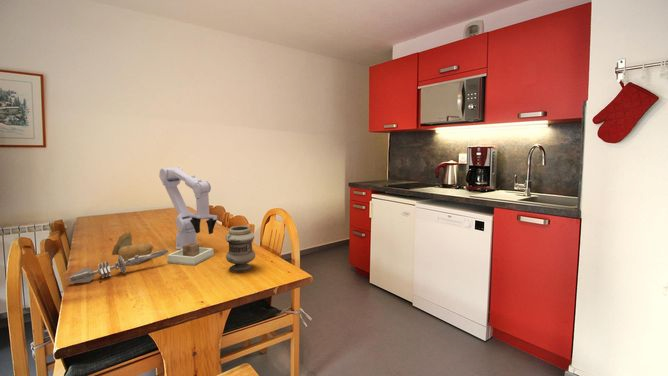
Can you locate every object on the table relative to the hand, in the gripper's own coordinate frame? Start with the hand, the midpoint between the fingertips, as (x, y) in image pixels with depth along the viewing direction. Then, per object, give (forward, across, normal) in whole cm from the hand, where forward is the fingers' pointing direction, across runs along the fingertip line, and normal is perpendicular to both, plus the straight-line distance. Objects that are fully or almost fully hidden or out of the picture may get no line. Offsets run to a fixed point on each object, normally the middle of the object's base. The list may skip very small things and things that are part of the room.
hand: (204, 233), depth 161 cm
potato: (+9, -20, -21) cm, 31 cm away
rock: (+9, -40, -12) cm, 42 cm away
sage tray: (+9, +1, -11) cm, 15 cm away
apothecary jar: (+10, +30, -16) cm, 36 cm away
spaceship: (+10, -13, -34) cm, 38 cm away
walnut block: (+9, +1, -11) cm, 14 cm away
